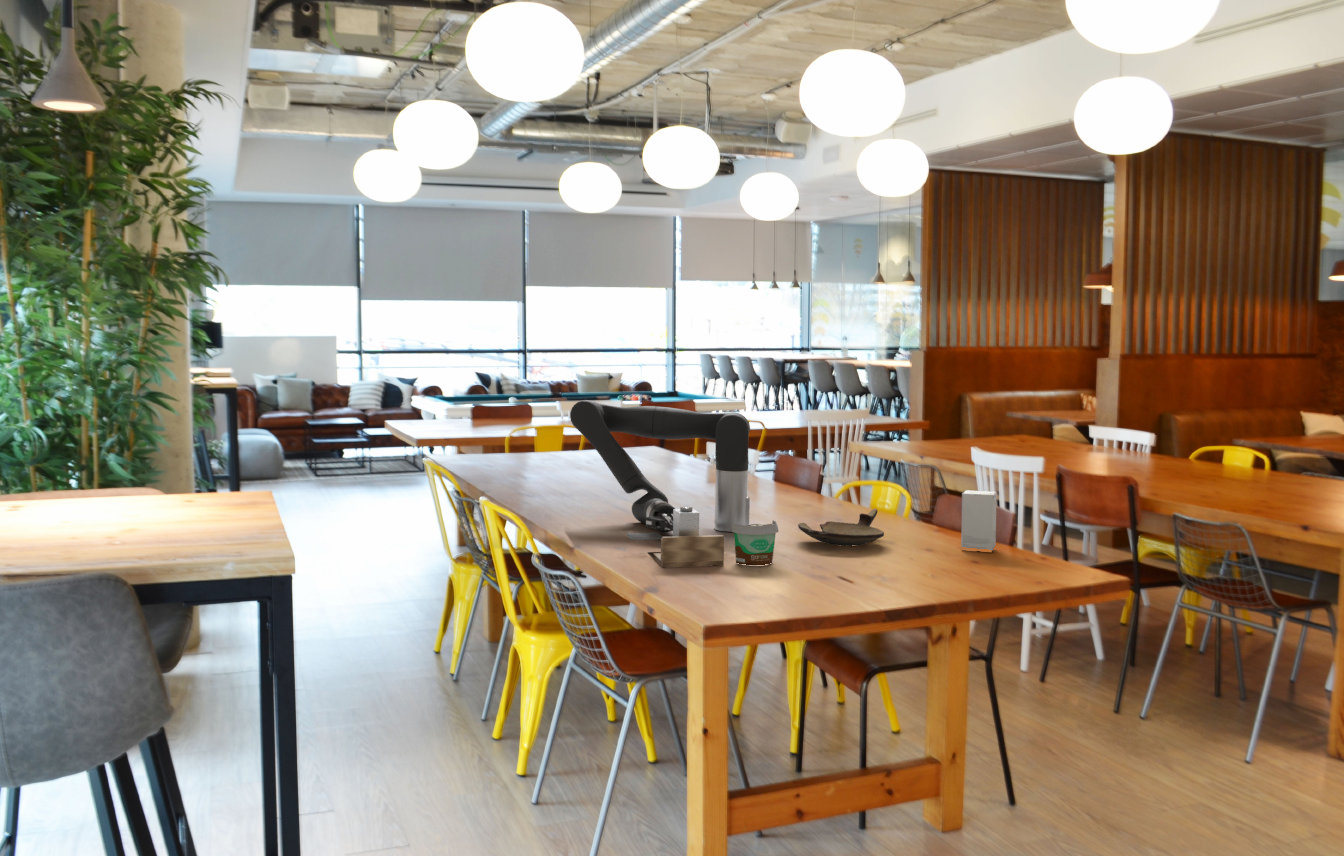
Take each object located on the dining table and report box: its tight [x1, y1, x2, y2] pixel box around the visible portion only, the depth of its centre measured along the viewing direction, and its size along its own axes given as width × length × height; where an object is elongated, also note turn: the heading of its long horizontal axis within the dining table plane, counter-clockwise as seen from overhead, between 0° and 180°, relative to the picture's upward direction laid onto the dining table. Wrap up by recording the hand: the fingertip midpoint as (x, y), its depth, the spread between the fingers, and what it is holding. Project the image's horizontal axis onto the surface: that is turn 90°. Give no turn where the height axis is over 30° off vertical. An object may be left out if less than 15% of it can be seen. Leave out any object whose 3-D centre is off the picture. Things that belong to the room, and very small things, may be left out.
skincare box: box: [960, 489, 997, 550], centre depth 276 cm, size 8×7×16 cm
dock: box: [647, 534, 725, 568], centre depth 259 cm, size 15×19×7 cm
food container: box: [732, 520, 779, 565], centre depth 254 cm, size 12×6×10 cm, turn 117°
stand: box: [624, 532, 663, 541], centre depth 279 cm, size 9×9×2 cm
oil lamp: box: [797, 508, 885, 547], centre depth 282 cm, size 22×30×8 cm
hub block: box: [672, 506, 700, 537], centre depth 257 cm, size 5×6×12 cm
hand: (676, 527), depth 266 cm, fingers closed
